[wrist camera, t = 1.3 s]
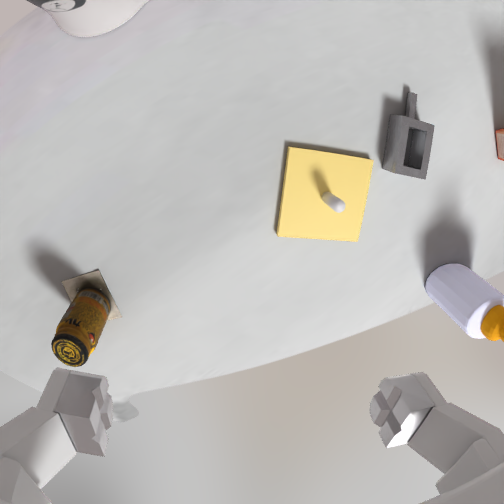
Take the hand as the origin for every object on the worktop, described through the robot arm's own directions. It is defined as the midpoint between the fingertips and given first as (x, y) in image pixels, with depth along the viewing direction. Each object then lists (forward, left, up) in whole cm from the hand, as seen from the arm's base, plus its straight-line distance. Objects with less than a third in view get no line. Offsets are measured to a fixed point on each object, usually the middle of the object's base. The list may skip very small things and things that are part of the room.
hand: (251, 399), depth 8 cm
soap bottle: (+14, +44, -35) cm, 58 cm away
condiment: (+19, -18, -35) cm, 44 cm away
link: (-10, +26, -35) cm, 44 cm away
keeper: (+1, +14, -35) cm, 38 cm away
